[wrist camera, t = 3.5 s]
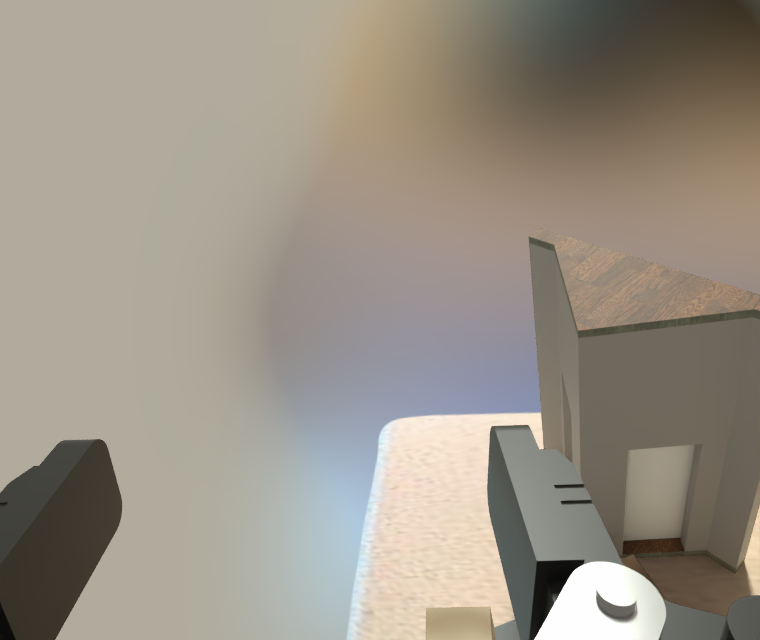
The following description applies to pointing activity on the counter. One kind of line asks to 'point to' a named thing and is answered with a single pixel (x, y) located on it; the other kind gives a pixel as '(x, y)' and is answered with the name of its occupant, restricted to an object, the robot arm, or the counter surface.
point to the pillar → (459, 623)
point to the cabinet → (651, 396)
